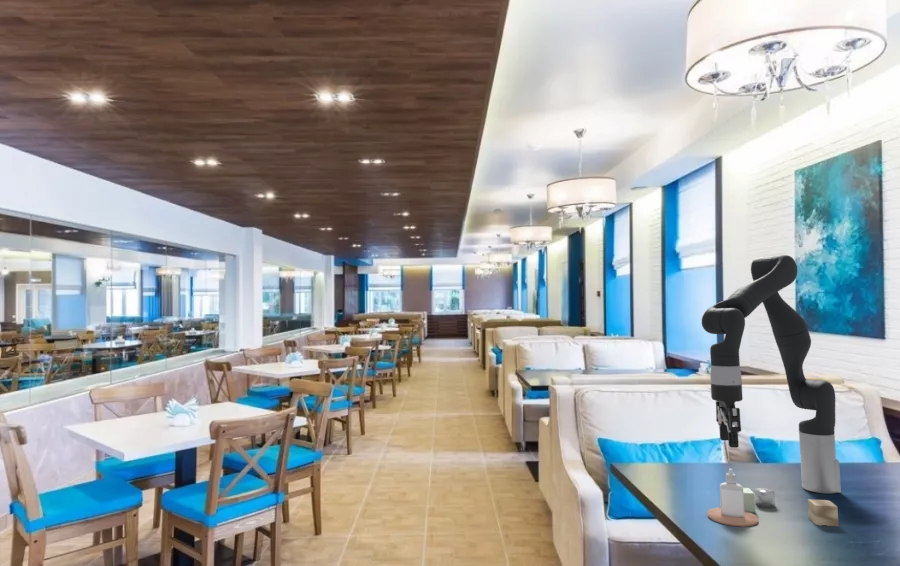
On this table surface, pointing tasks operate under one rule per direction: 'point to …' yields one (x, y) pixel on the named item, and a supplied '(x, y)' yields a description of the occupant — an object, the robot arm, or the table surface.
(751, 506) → the sage block
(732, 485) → the eye dropper bottle
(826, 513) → the oak block
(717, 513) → the salmon disc
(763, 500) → the steel puck
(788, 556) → the table surface
